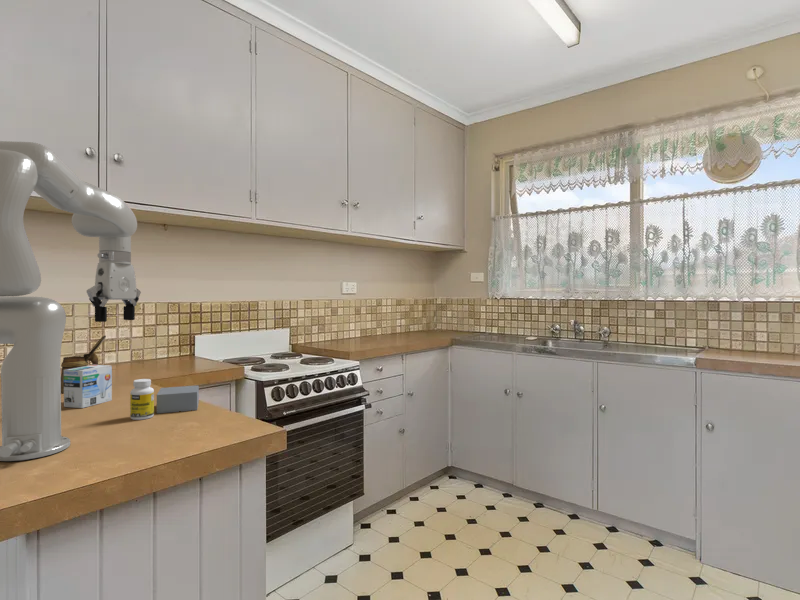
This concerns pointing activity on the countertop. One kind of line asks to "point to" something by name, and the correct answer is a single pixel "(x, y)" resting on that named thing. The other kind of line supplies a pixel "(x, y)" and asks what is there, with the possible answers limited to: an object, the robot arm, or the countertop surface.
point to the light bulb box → (87, 386)
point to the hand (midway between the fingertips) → (115, 320)
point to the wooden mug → (79, 361)
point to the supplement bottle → (142, 400)
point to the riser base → (177, 399)
